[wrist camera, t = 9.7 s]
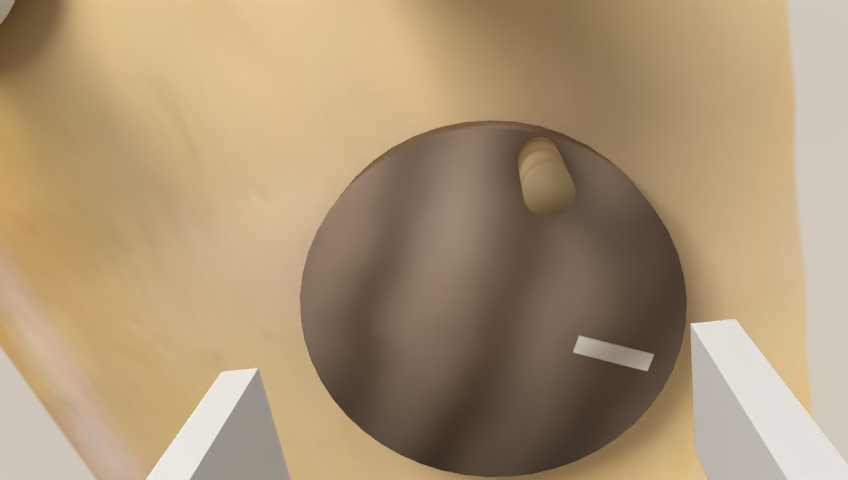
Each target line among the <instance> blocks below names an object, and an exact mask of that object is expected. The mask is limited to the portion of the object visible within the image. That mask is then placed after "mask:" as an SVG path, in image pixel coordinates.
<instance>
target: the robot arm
mask: <svg viewBox="0 0 848 480" xmlns="http://www.w3.org/2000/svg"><path fill="white" fill-rule="evenodd" d="M690 328H691V356H692V384H693V412H694V441H695V452H696V454H697V456H698V458H699V460H700V463H701V465H702V467H703V469H704V471H705V474H706V476H707V478H708V480H848V465H847V464H846V462H845V461H844V460H843V459H842V457H841V456H840V454H839V453H838V452H837V451H836V449H835V448H834V447H833V445H832V444H831V443H830V441H829V440H828V439H827V438H826V436H825V435H824V434H823V432H822V431H821V430H820V429H819V427H818V426H817V425H816V423H815V422H814V421H813V419H812V418H811V417H810V415H809V414H808V413H807V412H806V410H805V409H804V408H803V406H802V405H801V404H800V402H799V401H798V400H797V399H796V397H795V396H794V395H793V393H792V392H791V391H790V390H789V388H788V387H787V386H786V384H785V383H784V382H783V380H782V379H781V378H780V377H779V375H778V374H777V373H776V371H775V370H774V369H773V367H772V366H771V365H770V364H769V362H768V361H767V360H766V358H765V357H764V356H763V354H762V353H761V352H760V351H759V349H758V348H757V347H756V345H755V344H754V343H753V341H752V340H751V339H750V338H749V336H748V335H747V334H746V332H745V331H744V330H743V329H742V327H741V326H740V325H739V323H738V322H737V321H736V319H730V320H720V321H710V322H700V323H691V324H690ZM146 480H290V477H289V473H288V470H287V466H286V463H285V459H284V456H283V452H282V449H281V445H280V442H279V438H278V435H277V431H276V428H275V424H274V421H273V417H272V414H271V410H270V407H269V403H268V400H267V396H266V393H265V389H264V386H263V383H262V379H261V376H260V372H259V369H258V368H253V369H244V370H234V371H224V372H221V374H220V375H219V376H218V378H217V379H216V381H215V382H214V383H213V385H212V386H211V388H210V389H209V391H208V392H207V393H206V395H205V396H204V398H203V399H202V400H201V402H200V403H199V405H198V406H197V408H196V409H195V410H194V412H193V413H192V415H191V416H190V417H189V419H188V420H187V422H186V423H185V425H184V426H183V427H182V429H181V430H180V432H179V433H178V434H177V436H176V437H175V439H174V440H173V442H172V443H171V444H170V446H169V447H168V449H167V450H166V451H165V453H164V454H163V456H162V457H161V459H160V460H159V461H158V463H157V464H156V466H155V467H154V468H153V470H152V471H151V473H150V474H149V476H148V477H147V478H146Z"/></svg>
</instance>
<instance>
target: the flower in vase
mask: <svg viewBox="0 0 848 480" xmlns="http://www.w3.org/2000/svg"><path fill="white" fill-rule="evenodd" d="M14 2H15V0H0V24H1V23H2V22H3V20H4V19H5V18H6V16H7V15H8V14H9V12H10V10H11V8H12V6H13V4H14Z"/></svg>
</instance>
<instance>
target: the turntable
mask: <svg viewBox="0 0 848 480" xmlns="http://www.w3.org/2000/svg"><path fill="white" fill-rule="evenodd" d="M300 303H301V321H302V327H303V332H304V338H305V342H306V345H307V348H308V351H309V354H310V358H311V361H312V363H313V365H314V367H315V369H316V371H317V373H318V375H319V377H320V379H321V381H322V383H323V384H324V386H325V387H326V389H327V390H328V392H329V394H330V395H331V397H332V398H333V399H334V401H335V402H336V403H337V404H338V405H339V407H340V408H341V409H342V410H343V411H344V413H345V414H346V415H347V416H348V417H349V418H350V419H351V420H352V421H353V422H355V423H356V424H357V425H358V426H359V427H360V428H361V429H362V430H363V431H365V432H366V433H367V434H369V435H370V436H371V437H373V438H374V439H375V440H377V441H378V442H380V443H381V444H383V445H384V446H386V447H388V448H390V449H391V450H393V451H395V452H397V453H398V454H400V455H402V456H405V457H407V458H409V459H412V460H414V461H416V462H418V463H421V464H424V465H427V466H430V467H434V468H437V469H440V470H444V471H449V472H454V473H459V474H464V475H474V476H485V477H498V476H517V475H525V474H533V473H537V472H541V471H546V470H550V469H554V468H557V467H560V466H563V465H566V464H568V463H571V462H574V461H577V460H579V459H581V458H583V457H585V456H587V455H589V454H591V453H593V452H595V451H597V450H599V449H600V448H602V447H604V446H605V445H607V444H608V443H610V442H611V441H613V440H614V439H616V438H617V437H618V436H620V435H621V434H622V433H623V432H624V431H626V430H627V429H628V428H629V427H630V426H632V425H633V424H634V423H635V422H636V421H637V420H638V419H639V418H640V417H641V416H642V414H643V413H644V412H645V411H646V410H647V409H648V408H649V407H650V406H651V404H652V403H653V401H654V400H655V399H656V397H657V396H658V394H659V393H660V392H661V390H662V389H663V387H664V385H665V383H666V381H667V379H668V377H669V375H670V374H671V372H672V370H673V368H674V365H675V362H676V359H677V356H678V354H679V351H680V348H681V344H682V339H683V334H684V328H685V322H686V292H685V283H684V276H683V272H682V268H681V264H680V261H679V257H678V253H677V251H676V249H675V246H674V244H673V242H672V240H671V237H670V235H669V233H668V231H667V229H666V227H665V226H664V224H663V223H662V221H661V219H660V218H659V216H658V215H657V213H656V211H655V210H654V209H653V207H652V206H651V205H650V203H649V202H648V201H647V200H646V198H645V197H644V196H643V195H642V193H641V192H640V191H639V190H638V189H637V187H636V186H635V185H634V184H633V183H632V182H631V180H630V179H629V178H628V177H627V176H626V175H625V174H624V173H623V172H622V171H621V170H619V169H618V168H617V167H616V166H615V165H614V164H613V163H612V162H610V161H609V160H608V159H607V158H605V157H604V156H602V155H601V154H599V153H598V152H596V151H595V150H593V149H591V148H590V147H588V146H587V145H585V144H583V143H581V142H579V141H576V140H574V139H572V138H570V137H568V136H566V135H564V134H561V133H558V132H555V131H552V130H548V129H545V128H542V127H539V126H533V125H528V124H522V123H517V122H504V121H478V122H466V123H459V124H455V125H450V126H445V127H441V128H437V129H434V130H431V131H428V132H425V133H423V134H420V135H417V136H414V137H412V138H410V139H408V140H406V141H404V142H403V143H401V144H399V145H397V146H395V147H393V148H391V149H390V150H388V151H387V152H386V153H384V154H383V155H381V156H380V157H378V158H377V159H376V160H374V161H373V162H372V163H370V164H369V165H368V166H367V167H366V168H365V169H364V170H363V171H362V172H361V173H360V174H359V175H358V176H356V177H355V179H354V180H353V181H352V182H351V183H350V185H349V186H348V187H347V188H346V190H345V191H344V192H343V193H342V194H341V196H340V197H339V198H338V200H337V201H336V203H335V204H334V205H333V207H332V208H331V209H330V211H329V212H328V214H327V216H326V217H325V219H324V221H323V222H322V224H321V226H320V227H319V229H318V231H317V233H316V235H315V238H314V240H313V242H312V245H311V247H310V250H309V252H308V256H307V260H306V263H305V267H304V271H303V276H302V285H301V294H300Z"/></svg>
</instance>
